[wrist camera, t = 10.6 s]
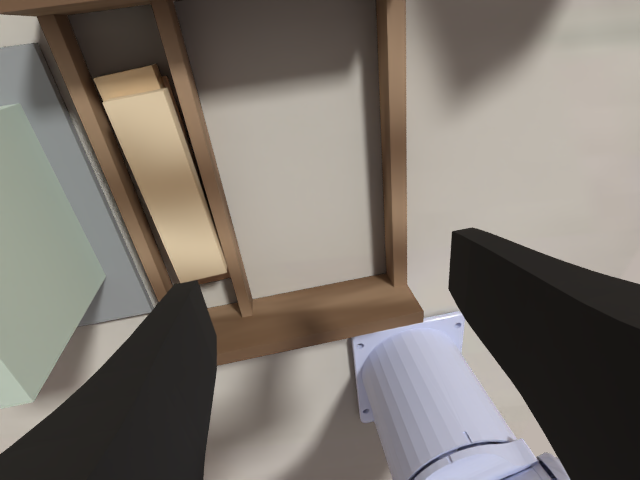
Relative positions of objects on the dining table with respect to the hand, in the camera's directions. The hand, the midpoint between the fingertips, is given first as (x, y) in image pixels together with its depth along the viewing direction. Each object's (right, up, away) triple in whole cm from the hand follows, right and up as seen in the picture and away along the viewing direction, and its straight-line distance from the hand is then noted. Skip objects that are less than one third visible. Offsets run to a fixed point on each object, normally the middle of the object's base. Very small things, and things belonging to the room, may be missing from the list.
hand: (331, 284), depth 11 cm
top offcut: (-7, +4, +7) cm, 11 cm away
